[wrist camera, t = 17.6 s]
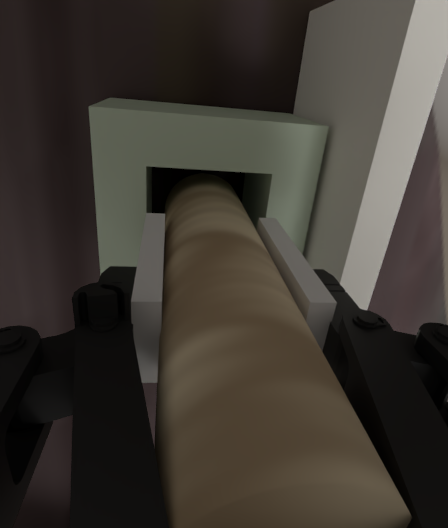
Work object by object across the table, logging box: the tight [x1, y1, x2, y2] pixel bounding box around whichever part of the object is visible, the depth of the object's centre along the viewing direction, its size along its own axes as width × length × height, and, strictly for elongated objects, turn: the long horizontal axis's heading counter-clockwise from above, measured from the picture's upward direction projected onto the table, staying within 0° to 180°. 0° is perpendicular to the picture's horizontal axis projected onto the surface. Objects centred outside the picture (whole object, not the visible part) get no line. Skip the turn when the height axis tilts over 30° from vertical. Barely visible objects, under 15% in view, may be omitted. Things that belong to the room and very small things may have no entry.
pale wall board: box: [293, 0, 448, 310], centre depth 20 cm, size 2×20×10 cm, turn 175°
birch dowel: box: [154, 174, 412, 528], centre depth 13 cm, size 4×4×16 cm
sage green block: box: [89, 98, 329, 276], centre depth 20 cm, size 10×10×6 cm
